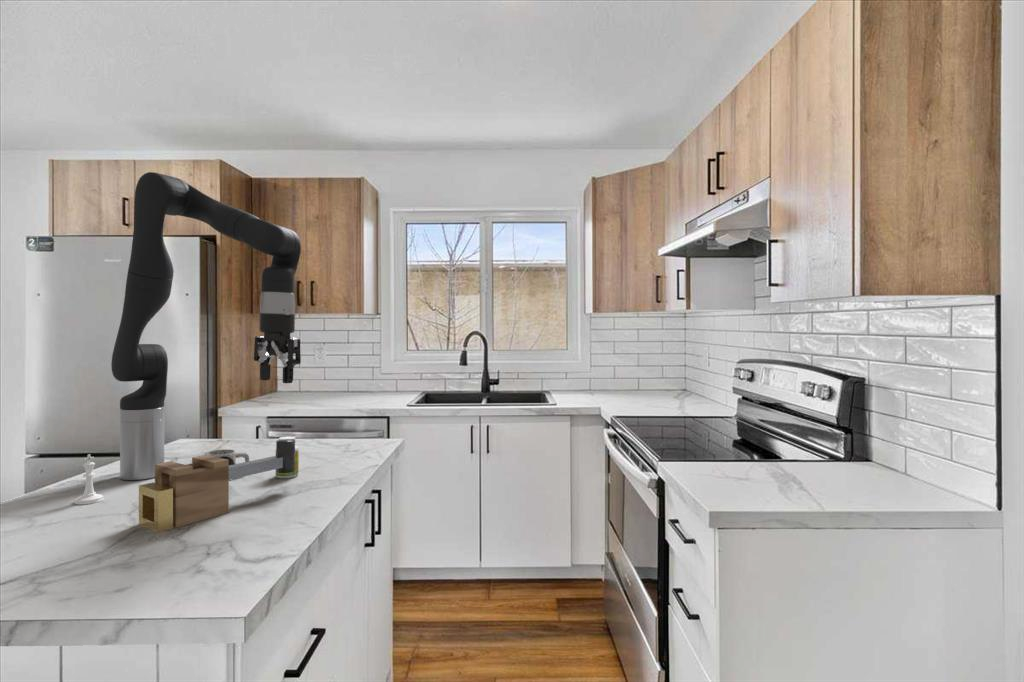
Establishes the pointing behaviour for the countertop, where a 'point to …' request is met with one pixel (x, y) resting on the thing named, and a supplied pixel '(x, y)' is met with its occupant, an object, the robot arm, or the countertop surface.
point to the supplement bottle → (295, 473)
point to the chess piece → (89, 485)
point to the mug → (228, 455)
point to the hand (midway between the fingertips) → (276, 381)
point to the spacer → (156, 506)
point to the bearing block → (196, 488)
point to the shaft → (268, 461)
